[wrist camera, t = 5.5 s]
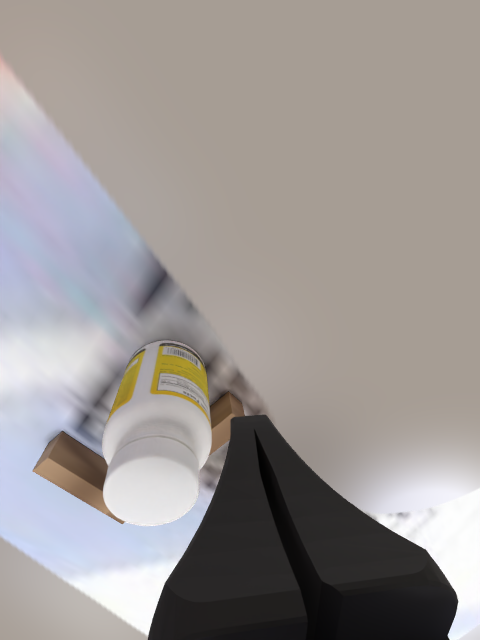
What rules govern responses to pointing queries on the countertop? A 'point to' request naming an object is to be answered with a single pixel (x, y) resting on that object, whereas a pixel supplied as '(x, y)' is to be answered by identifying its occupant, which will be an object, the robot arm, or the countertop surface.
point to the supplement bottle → (157, 435)
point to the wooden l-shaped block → (90, 469)
